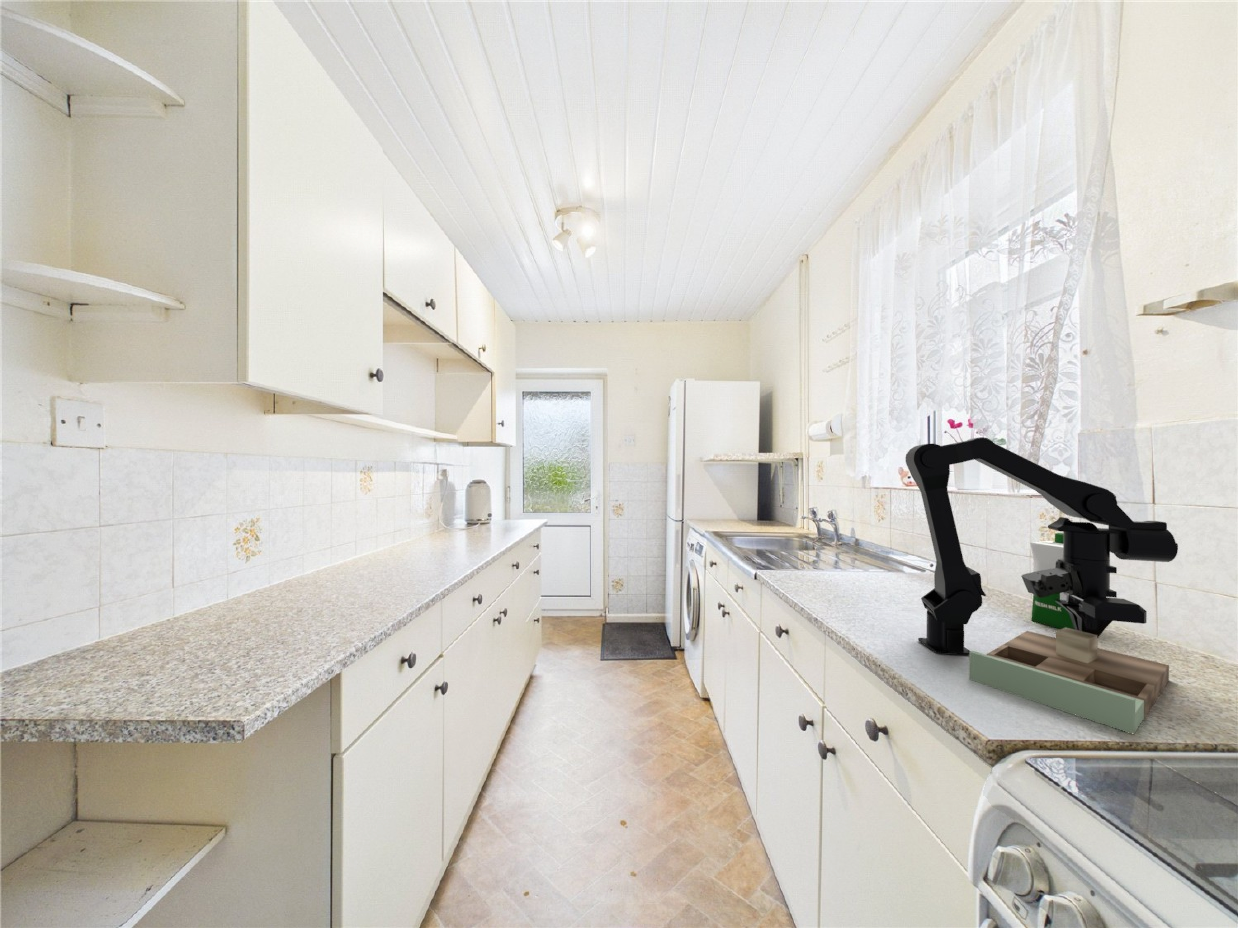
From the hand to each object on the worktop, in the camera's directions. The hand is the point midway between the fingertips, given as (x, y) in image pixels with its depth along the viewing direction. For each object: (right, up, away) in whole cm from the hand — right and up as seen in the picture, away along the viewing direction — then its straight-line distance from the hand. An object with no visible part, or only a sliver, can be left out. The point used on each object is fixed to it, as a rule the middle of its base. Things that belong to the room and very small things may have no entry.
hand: (1085, 645), depth 80 cm
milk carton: (+16, -4, +21) cm, 27 cm away
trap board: (-5, -4, -3) cm, 7 cm away
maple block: (-4, -1, -2) cm, 4 cm away
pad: (-16, -3, -11) cm, 20 cm away
